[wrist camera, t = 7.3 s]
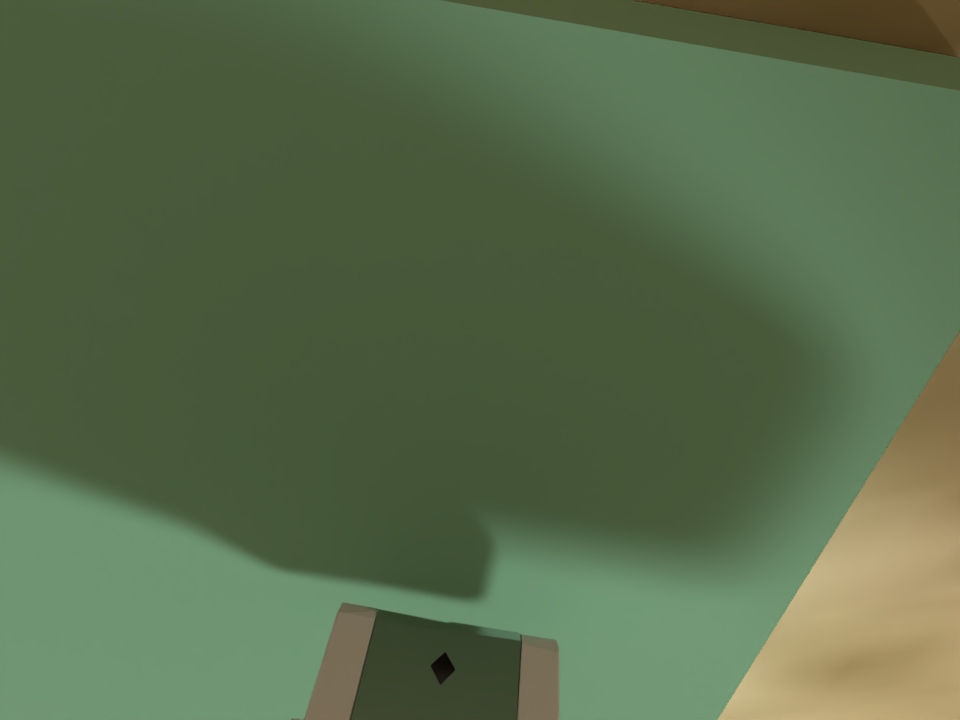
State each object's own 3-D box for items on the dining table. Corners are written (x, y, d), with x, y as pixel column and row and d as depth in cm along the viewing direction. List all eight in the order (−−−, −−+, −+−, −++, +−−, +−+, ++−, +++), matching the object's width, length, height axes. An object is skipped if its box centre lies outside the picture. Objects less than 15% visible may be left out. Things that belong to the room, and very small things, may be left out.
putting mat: (960, 58, 8) (1286, 197, 5) (617, 748, 17) (634, 986, 14) (-740, -240, 8) (-1820, -343, 4) (-197, 613, 17) (-406, 816, 13)
